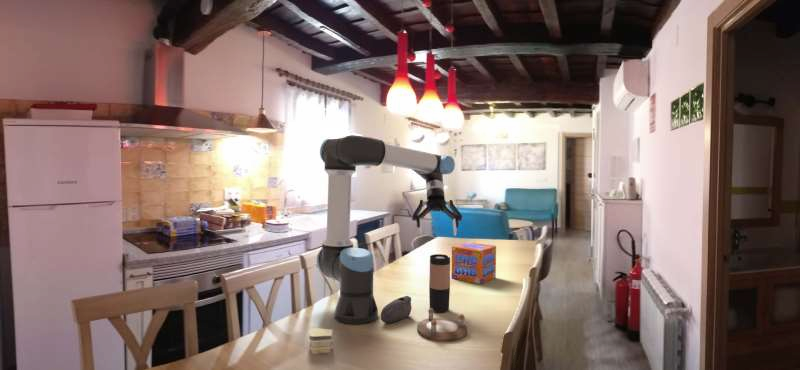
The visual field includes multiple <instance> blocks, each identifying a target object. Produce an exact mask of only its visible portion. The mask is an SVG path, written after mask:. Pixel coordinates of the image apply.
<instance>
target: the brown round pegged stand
mask: <svg viewBox="0 0 800 370" xmlns="http://www.w3.org/2000/svg"><path fill="white" fill-rule="evenodd" d="M427 312H428V318H425V319H423V320H421V321H419V322H418V323H417V326H416V327H417V328H416V331H417V332H416V333H418V335H419V336H420V337H422V338H425V339H426V340H429V341H434V342H442V343H443V342H444V343H445V342H455V341H458V340H462V339H464V338H465V337H466V336H467V335H468V328H467V325H466V324H465V315H464V314H463V313H461V314H459V315H458V320H457V319H453V318H449V317H434V313H435V312H434V310H433V309H432V308H430V307H429V309H428V311H427Z"/></svg>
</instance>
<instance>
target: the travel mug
mask: <svg viewBox="0 0 800 370" xmlns="http://www.w3.org/2000/svg"><path fill="white" fill-rule="evenodd" d="M428 279H429V281H428V282H429V283H428V284H429V286H428V290H429V292H428V293H429V297H428V298H429V309H430V308H432V309H433V310H434V312H433V313H437V314H438V313H439V314H445V313H447V312H449V311H450V310H449V309H450V292H451V290H450V289H451V257H450V256H449V255H447V254H441V253H439V254H437V253H434V254H431V255H430V256H429V278H428Z"/></svg>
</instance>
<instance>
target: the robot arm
mask: <svg viewBox="0 0 800 370" xmlns="http://www.w3.org/2000/svg"><path fill="white" fill-rule="evenodd" d="M319 148H320V149H319V156H320V159H321V160H322V162H323V163H324V171H325V173H326V174H327V175H328V178H327V179H328V181H327V185H328V186H327V208H326V209H327V210H326V211H327V213H326V216H327V217H326V238H325V240H323V241H322V243H321V249H320V251H318V252H317V255H316V266H317V268H318V270H319V271H320V273H322V274H323V275H325V276H326V277H327V278H328V279H330V278H331V279H332V280H335V281H337V282H339V296H338V297H339V298H338V301H337V302H336V303H337V304H336V306H335V308H334V309H335V310H334V319H335V320H336V321H337V322H339V323H342V324H347V325H362V324H368V323H372V322H374V321H376V319H378V317H379V309H378V305H377V303H376V300H375V295H374V267H375V266H374V265H375V263H374V262H375V261H374V255H373V253H372V252H371V250H370V251H369V250H368V249H365V248H359V247H354V242H353V241H352V239H350V231H351V228H350V227H351V203H352V201H351V200H352V199H351V196H352V177H353V175H354V173H356V172H357V169H356V168H357V167H359V166H374V167H380V166H381V165H385V166H390V167H396V168H402V169H410V170H412V171H413V172H415V173H416V174H417V175H418V176H420V177H421V178H422V179H423V180H424V181H425V183H426V184H425V186H426V201H425V200H423V199H420V200H419V204H418V206H417V207H416V209H415V210H414V212H413V214H412V216H411V217H412V218H411V220H412V221H416V227H417V228H419V236H422V235H423V224H422V223H423V221H422V220H423V218H425V217H426V216H427V214H430V212H442V213H444V214H445V215H446V216H448V218H450V219H451V220H452V228H453V236H456V237H457V232H458V231H457V228H459V222H461V221H462V219H463V214H462V213H461V212H460V210H458V208H457V206H455V204H454V201H453V199H449V201H446V198H445V197H446V196H445V187H444V175H450V174H451V173H453V172H454V170H455V168H456V167H455V166H456V163H455V159H454V158H453V157H452V156H451V155H445V154H444V155H440V154H434V153H430V152H425V151H422V150H418V149H417V150H416V149H412V148H407V147H402V146H397V145H392V144H388V143H385V141H383V139H378V138H374V137H371V136H368V135H362V134H359V133H352V132H351V133H345V134H344V133H342V134H340V133H339V134H334V135H331V136H328V137H326V138H325V140H324V141H322V143H321V145H320V147H319ZM425 205H426V208H424V209H423V207H424V206H425ZM447 206H448V207H447ZM422 209H423V210H422Z"/></svg>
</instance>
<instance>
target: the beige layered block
mask: <svg viewBox="0 0 800 370" xmlns="http://www.w3.org/2000/svg"><path fill="white" fill-rule="evenodd" d="M333 331H334V330H333V329H328V328H327V329H326V328H321V327H319V328H318V327H317V328H316V327H314V328H311V329H309V330H308V333H309V334H308V338H309V341H308V345H309V346H308V347H309V348H310V353H311V354H313V355H316V354H317V355H318V354H323V353H324V354H330V353H331V351H332V346H333V343H334V342H333V336H334V335H333Z"/></svg>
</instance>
